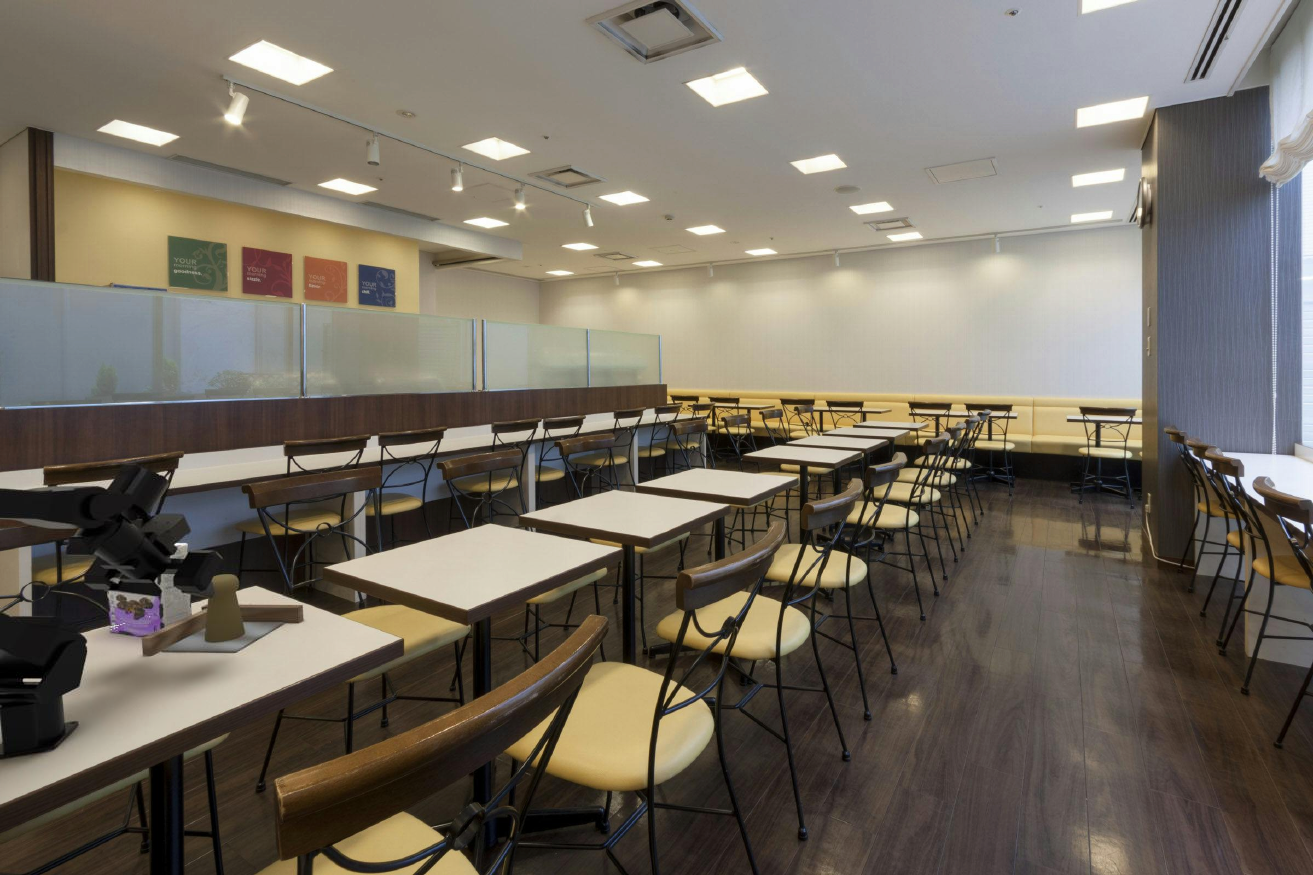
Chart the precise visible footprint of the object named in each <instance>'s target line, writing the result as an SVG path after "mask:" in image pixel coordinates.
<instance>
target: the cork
mask: <svg viewBox="0 0 1313 875" xmlns="http://www.w3.org/2000/svg"><path fill="white" fill-rule="evenodd" d="M212 583H213V586H214V590H215V594H214V596H213V598H207V604H208V606H207V617H206V629H205V642H208V643H219V642H225V641H230V640H233V639H236V638H239V637H241V636H242V635H244V634H245V629H244V625H243V620H242V616H241V612H240V608H239V605H240V604H239V601H238V600H239V599H238V595H237V591H238V589H239V588H240V580H239V578H238V577H237V576H236V575H234V574H231V573H229V574H228V573H226V574H217V575H214V577H213V579H212Z"/></svg>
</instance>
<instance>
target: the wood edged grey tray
mask: <svg viewBox="0 0 1313 875" xmlns="http://www.w3.org/2000/svg"><path fill="white" fill-rule="evenodd" d="M207 606H208V603H207V604H204V605H203V606H201V610H200V611H197V612H196V613H193V614H192V615H191V616H189V617H186V618H184V619H182V620H180V621H178V622H176V623H173V624H171V625H169V626H167V627H165V628H163V629H161V630H158V631H156V632H154V633H152V634H150V635H148V636H145V637H142V638H141V647H142V656H143V655H146V656H147V657H152V656H155V655H156V654H158V653H160V652H162V653H202V654H203V653H209V654H210V653H213V654H214V653H215V654H217V653H219V654H221V653H222V654H231V653H232V654H235V653H238V652H240V651H241V650H243V649H245V648H246V647H248V646H250V645H252V644H253V643H255V642H257V641H258V640H260V639H262V638H263V637H265V636H267V635H269V634H270V633H272V632H273V631H275V630H276V629H278V628H280V627H282V626H283V625H285V624H300V623H301V622H303V621H304V620H305V619H304V605H303V604H239V608H240V612H241V616H242V620H243V625H244V629H245V634H244V635H242V636H241V637H239V638H236V639H233V640H230V641H225V642H219V643H208V642H205V629H206V617H207Z"/></svg>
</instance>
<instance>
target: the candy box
mask: <svg viewBox="0 0 1313 875" xmlns="http://www.w3.org/2000/svg"><path fill="white" fill-rule="evenodd" d="M174 545H175V546H176V547H177V548H178V549H177V551H176V553H175V554H174V555H171V556H170V558H177V559H184V558H185V557H186V555H187V554H188V552H189V547H188V545H189V544H188V543H186V542H181V543H180V542H177V543H176V544H174ZM174 575H175V574H162V575H160V576H158V577H157V578H156V580H155V583H156V584H157V585H158V586H159V587H160V589H161V590H162V593H161V594H160V596H159V597H155V596H147V595H139V594H131V593H122V592H113V591H106V593H107V595H106V596H107V603H108V604H107V605H108V618H109V630H110V629H112V630H110V632H111V633H115V634H117V633H118V634H124V635H130V636H135V637H137V636H138V637H142V638H143V637H145V636H148V635H150V634H152V633H154V632H156V631H158V630H161V629H163V628H165V627H167V626H169V625H171V624H173V623H176V622H178V621H180V620H182V619H184V618H186V617H189V616H191V615H193V614H192V613H193V612H192V597H191V596H192V595H191V594H186V593H181V591H182V590H179V589H177V588H176V587H174V586H173V577H174ZM149 616H150V617H149ZM123 623H125V624H123ZM120 624H122V625H120ZM114 625H119V626H115V627H112V628H110V626H114ZM116 627H118V628H116ZM114 628H115V629H114Z"/></svg>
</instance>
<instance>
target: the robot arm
mask: <svg viewBox="0 0 1313 875" xmlns="http://www.w3.org/2000/svg"><path fill="white" fill-rule="evenodd" d="M169 484H170V483H169V480H168V479H167V477H165V476H164V475H162V474H159V473H157V472H155V471H153V470H150V469H147V468H143V467H141V466H140V465H139V464H138V463H123V464H122V465H121V467H120V468H119V470H118V472H117V474H116V475H115V477H114V479H113V480H112V481H111V483H110V484H109V486H108V487H107V488H105V487H104V486H99V485H85V486H84V485H76V486H75V485H68V486H67V485H62V486H61V485H60V486H59V485H58V486H57V485H53V486H45V487H36V488H33V487H32V488H29V489H18V488H17V489H16V488H14V489H13V488H4V487H3V488H1V487H0V520H13V521H18V522H21V523H23V524H25V525H31V526H36V527H39V528H44V529H45V528H46V529H53V530H54V529H60V530H61V529H62V530H63V529H64V530H67V529H77V531H76V533H74V535H73V536H68V538H67V541H68V544H67V545H66V547H65V555H66V556H69V557H71V556H73V557H75V556H78V557H83V556H85V557H87V556H89V557H90V556H93V555H94V554H95V555H96V558H95V559H94V560H93V562H92V564H90V566H89V567H88V569H87V570H86V572H85V573H84V574H83V579H84V580H83V581H84V582H83V583H84V585H87V587H89V588H90V589H93V590H102V591H104V592H107V591H113V592H122V593H131V594H139V595H147V596H155V597H159V596H160V594H161V593H162V590H161V589H160V587H159V586H158V585H157V584H156V583H155V580H156V578H157V577H158V576H160V575H162V574H175V575H174V577H173V586H174V587H176V588H177V589H179V590H182V591H181V593H186V594H191V596H197V597H202V598H206V599H208V598H213V596H214V594H215V590H214V586H213V583H212V579H213V577H214V576H216V573H217V571H218V570H219V568H220V566H221V564H222V562H223V561H224V559H223V557H222V555H220V554H219V553H218V551H216V550H210V549H209V550H208V549H207V550H201V549H198V550H197V549H195V550H191V551H188V554H187V555H186V557H185V558H184V559H177V558H170V556H171V555H174V554H175V553H176V551H177V549H178V548H177V547H176V546H175V545H174V544H176V543H179V542H180V541H181V540H182V539H183V538H184V537H185V536H187V535H190V533H191V532H192V529H191V527H190V524H189V522H188V519H187V518H186V516H185V514H184V513H166V512H165V513H159V514H152V515H151V513H152V511H153V510H154V509H155V507H156V505H157V504H158V502H159V501H160V499H161V497H162V496H163V494H165V491H166V490H167V488H168V487H169ZM150 515H151V516H150ZM81 630H82V627H81V626H73V625H70V624H69V623H67V622H66V620H64V619H63V618H61V617H59V616H56V615H51V616H50V615H48V616H47V615H12V616H11V615H9V614H8V613H7V614H6V613H4V612H3V611H1V610H0V734H1V743H0V759H3V758H7V757H15V756H20V755H26V754H33V753H39V752H45V751H46V752H47V751H50V750H53V749H55V748H56V747H58V745H59V744H60V743H62V742H63V740H65V739H66V738H67V736H69V735H70V734H71V733H72V732H73V731H74V730H75V729H77V727H78V726H79V725H80V724H79V721H78V720H73V721H67V722H65V720H66V719H65V710H64V709H65V708H64V700H63V699H64V698H63V696H64V695H66V694H68V693H69V692H72V691H74V690H76V689H78V688H79V687H80V686H81V682H82V678H83V672H84V670H85V669H84V668H85V665H86V660H87V655H88V646H87V643H88V639H87V638H86V636H85V635H83V634H82V633H81V632H80V631H81ZM25 679H26V680H30V679H31V680H38V679H39V680H40V681H24V680H25Z"/></svg>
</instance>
